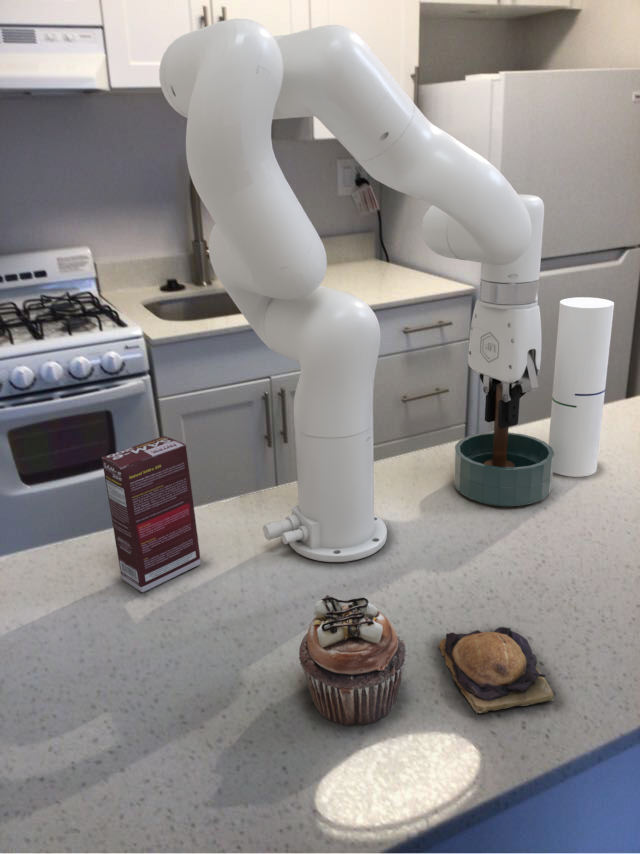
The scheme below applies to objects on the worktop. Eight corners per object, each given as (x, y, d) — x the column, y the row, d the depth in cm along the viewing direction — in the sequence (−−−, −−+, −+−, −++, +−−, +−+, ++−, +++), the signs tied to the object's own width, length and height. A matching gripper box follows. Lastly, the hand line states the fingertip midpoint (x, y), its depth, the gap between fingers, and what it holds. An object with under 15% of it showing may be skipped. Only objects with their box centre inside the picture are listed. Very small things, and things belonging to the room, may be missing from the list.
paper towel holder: (496, 481, 106) (502, 392, 102) (476, 470, 110) (481, 383, 105) (520, 474, 108) (527, 386, 103) (500, 463, 112) (505, 378, 107)
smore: (560, 704, 67) (564, 670, 66) (470, 717, 66) (472, 683, 65) (512, 632, 77) (514, 601, 76) (433, 642, 76) (434, 611, 75)
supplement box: (179, 551, 95) (165, 433, 89) (202, 565, 91) (189, 443, 86) (118, 579, 89) (99, 455, 83) (140, 595, 86) (122, 467, 80)
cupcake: (421, 722, 66) (422, 626, 62) (312, 742, 64) (307, 645, 60) (389, 653, 75) (388, 566, 71) (292, 670, 73) (287, 581, 69)
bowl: (496, 518, 100) (498, 477, 98) (435, 482, 111) (436, 444, 109) (571, 494, 105) (574, 455, 103) (506, 461, 117) (508, 425, 114)
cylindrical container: (599, 478, 110) (618, 308, 101) (548, 475, 111) (562, 307, 102) (593, 458, 116) (610, 297, 107) (545, 456, 118) (557, 297, 109)
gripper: (449, 286, 105) (445, 411, 111) (529, 306, 92) (519, 446, 98) (491, 281, 108) (485, 402, 115) (574, 298, 95) (562, 435, 101)
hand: (501, 422), depth 106 cm, fingers closed on paper towel holder, 2 cm apart
